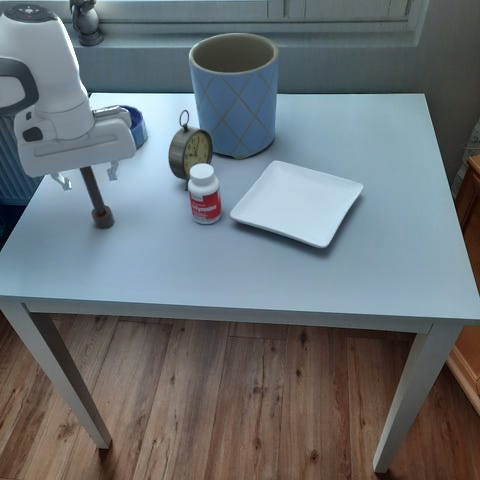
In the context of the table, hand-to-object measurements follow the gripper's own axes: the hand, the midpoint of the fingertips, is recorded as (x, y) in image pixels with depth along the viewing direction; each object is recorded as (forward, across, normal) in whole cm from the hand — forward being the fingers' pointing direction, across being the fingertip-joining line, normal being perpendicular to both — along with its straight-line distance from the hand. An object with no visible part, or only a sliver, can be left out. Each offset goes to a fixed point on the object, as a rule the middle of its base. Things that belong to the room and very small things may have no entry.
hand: (90, 183), depth 90 cm
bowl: (+10, -7, -30) cm, 32 cm away
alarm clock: (+10, -21, -8) cm, 25 cm away
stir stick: (+10, 0, 0) cm, 10 cm away
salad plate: (+10, -39, +10) cm, 41 cm away
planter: (+10, -35, -20) cm, 42 cm away
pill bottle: (+10, -21, +5) cm, 24 cm away
